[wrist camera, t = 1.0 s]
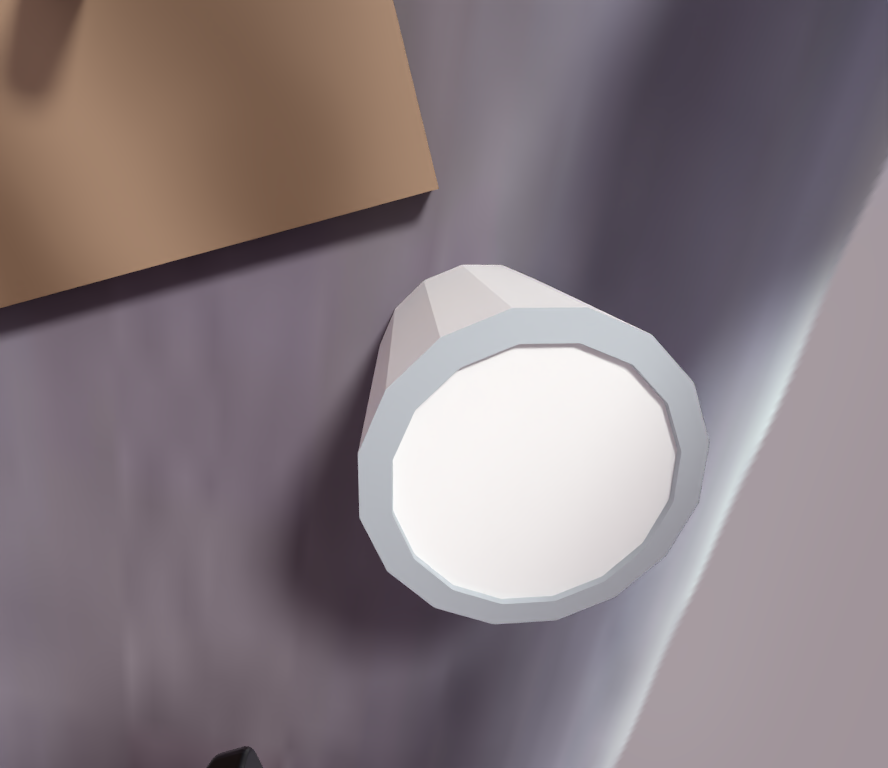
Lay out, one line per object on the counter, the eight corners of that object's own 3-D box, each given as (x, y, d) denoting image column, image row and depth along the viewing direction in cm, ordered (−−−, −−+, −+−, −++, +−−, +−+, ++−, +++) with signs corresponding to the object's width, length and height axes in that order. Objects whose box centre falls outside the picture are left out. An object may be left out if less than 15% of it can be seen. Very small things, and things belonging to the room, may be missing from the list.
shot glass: (642, 327, 20) (783, 429, 13) (501, 506, 21) (565, 675, 15) (449, 187, 18) (502, 226, 11) (309, 396, 19) (284, 537, 13)
